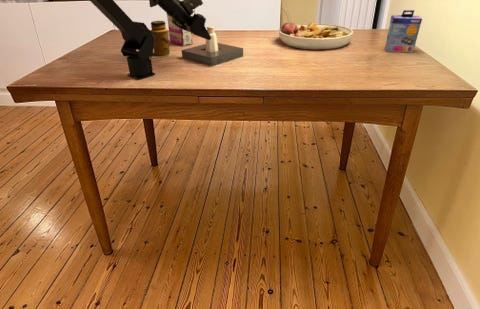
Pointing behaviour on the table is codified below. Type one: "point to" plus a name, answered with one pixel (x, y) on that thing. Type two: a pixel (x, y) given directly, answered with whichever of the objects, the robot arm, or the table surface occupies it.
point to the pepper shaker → (211, 40)
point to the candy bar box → (178, 34)
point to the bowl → (315, 36)
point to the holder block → (212, 54)
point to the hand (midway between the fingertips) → (204, 36)
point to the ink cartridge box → (403, 32)
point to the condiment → (160, 39)
